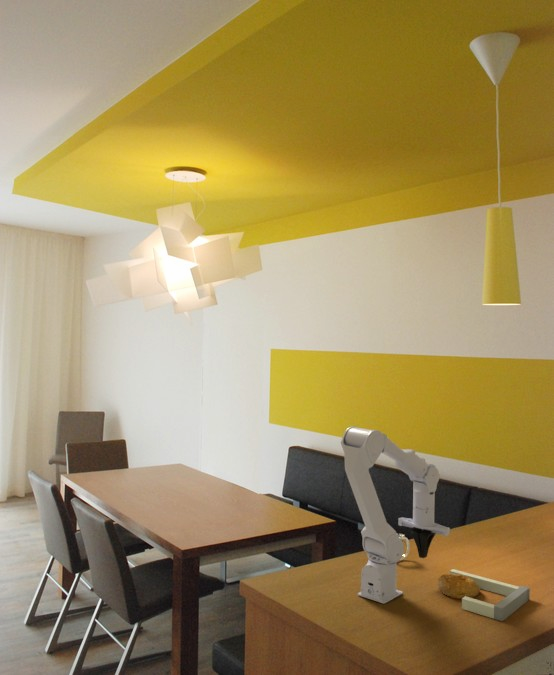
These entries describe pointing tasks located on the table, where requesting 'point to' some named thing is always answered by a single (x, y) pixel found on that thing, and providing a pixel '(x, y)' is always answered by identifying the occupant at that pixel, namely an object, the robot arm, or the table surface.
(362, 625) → the table surface
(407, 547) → the ring
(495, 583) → the guide
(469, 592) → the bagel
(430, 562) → the table surface
